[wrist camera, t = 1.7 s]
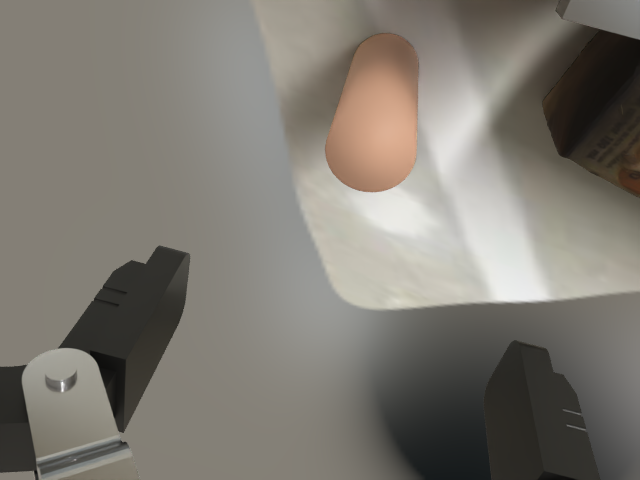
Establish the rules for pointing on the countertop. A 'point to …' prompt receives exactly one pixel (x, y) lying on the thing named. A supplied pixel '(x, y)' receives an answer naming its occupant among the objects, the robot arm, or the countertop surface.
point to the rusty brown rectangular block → (600, 110)
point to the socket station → (604, 15)
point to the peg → (376, 116)
